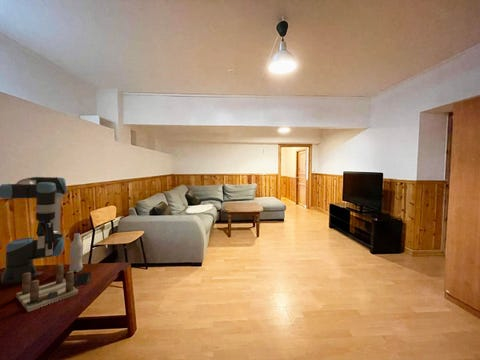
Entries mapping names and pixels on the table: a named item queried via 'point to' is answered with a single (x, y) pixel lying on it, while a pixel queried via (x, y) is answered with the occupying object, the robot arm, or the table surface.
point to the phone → (82, 278)
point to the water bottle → (76, 253)
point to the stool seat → (48, 289)
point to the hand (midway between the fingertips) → (44, 251)
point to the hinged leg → (35, 292)
